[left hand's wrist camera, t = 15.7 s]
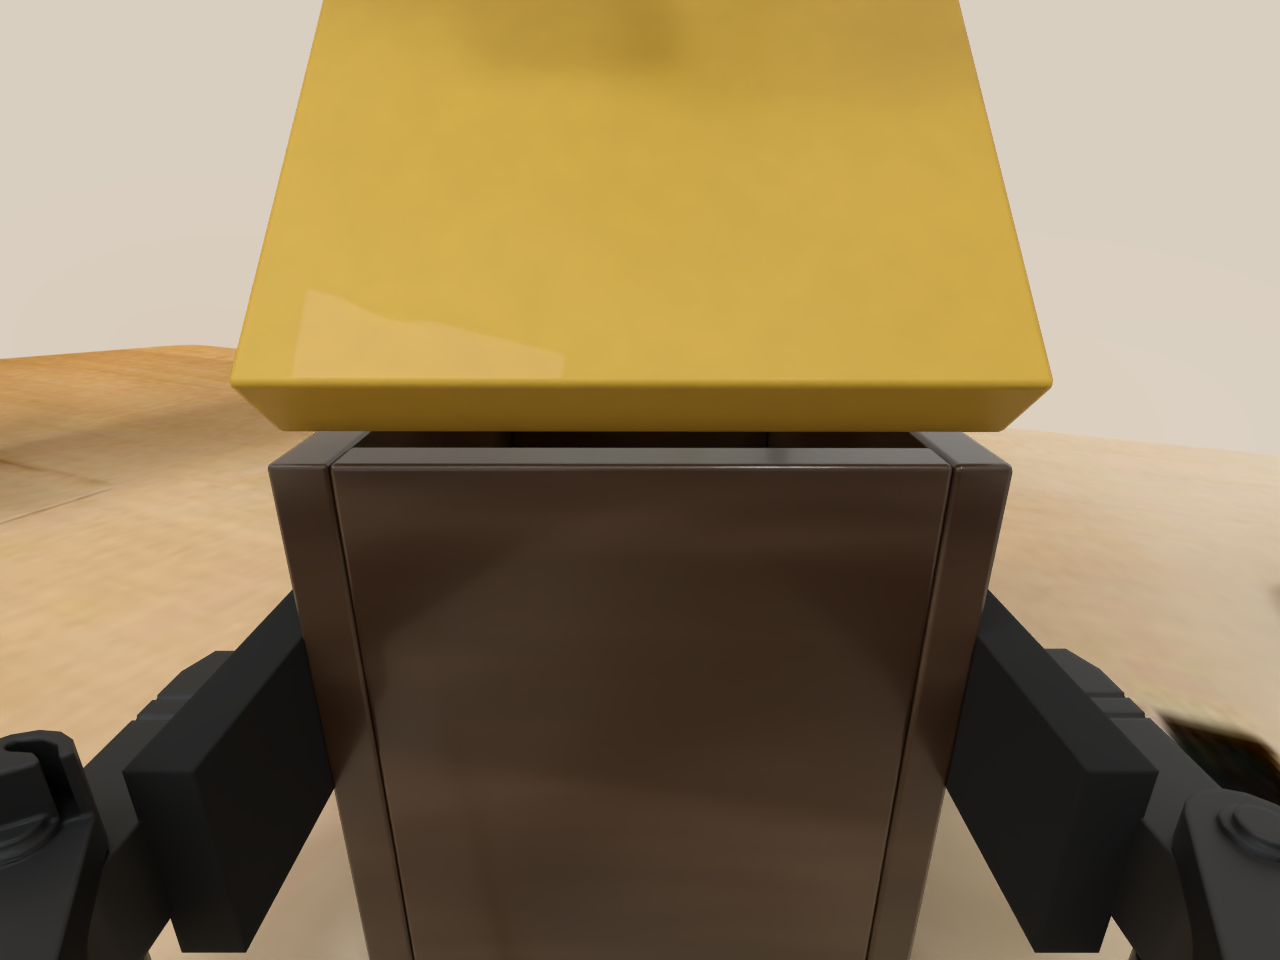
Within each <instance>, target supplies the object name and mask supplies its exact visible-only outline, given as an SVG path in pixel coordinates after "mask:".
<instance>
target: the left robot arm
mask: <svg viewBox="0 0 1280 960" xmlns="http://www.w3.org/2000/svg"><path fill="white" fill-rule="evenodd" d="M946 788H947V790H948V792H949V794H950V796H951V798H952V799H953V801H954V803H955V805H956V807H957V809H958V811H959V812H960V814H961V816H962V818H963V820H964V822H965V824H966V825H967V827H968V829H969V831H970V833H971V835H972V837H973V838H974V840H975V842H976V844H977V846H978V848H979V850H980V851H981V853H982V855H983V857H984V859H985V861H986V863H987V864H988V866H989V868H990V870H991V872H992V874H993V876H994V877H995V879H996V881H997V883H998V885H999V887H1000V889H1001V890H1002V892H1003V894H1004V896H1005V898H1006V900H1007V902H1008V903H1009V905H1010V907H1011V909H1012V911H1013V913H1014V915H1015V916H1016V918H1017V920H1018V922H1019V924H1020V926H1021V928H1022V929H1023V931H1024V933H1025V935H1026V937H1027V939H1028V941H1029V943H1030V944H1031V946H1032V948H1033V950H1034V952H1035V953H1099V951H1100V948H1101V945H1102V942H1103V939H1104V936H1105V933H1106V930H1107V927H1108V924H1109V921H1110V918H1111V916H1112V917H1113V919H1114V920H1115V922H1116V923H1117V925H1118V926H1119V928H1120V929H1121V931H1122V932H1123V934H1124V935H1125V937H1126V938H1127V940H1128V941H1129V943H1130V944H1131V946H1132V947H1133V949H1132V952H1131V954H1130V957H1129V960H1280V806H1278V805H1276V804H1274V803H1271V802H1269V801H1266V800H1263V799H1261V798H1258V797H1255V796H1253V795H1250V794H1247V793H1244V792H1238V791H1233V790H1227V789H1222V788H1221V787H1220V786H1219V785H1218V784H1217V783H1216V782H1215V781H1214V780H1213V779H1212V778H1211V777H1210V776H1209V775H1208V774H1207V773H1205V772H1204V771H1203V770H1202V769H1201V768H1200V767H1199V766H1198V765H1197V764H1196V763H1195V762H1194V761H1193V760H1192V759H1191V758H1190V757H1189V756H1188V755H1187V754H1186V753H1185V752H1184V751H1183V750H1182V749H1181V748H1180V747H1179V746H1178V745H1177V744H1176V743H1175V742H1174V741H1173V740H1172V739H1171V738H1170V737H1169V736H1168V735H1167V734H1166V733H1165V732H1164V731H1163V730H1162V729H1161V728H1159V727H1158V726H1157V725H1156V724H1155V723H1154V722H1153V721H1152V720H1151V719H1150V718H1145V713H1144V712H1143V711H1142V710H1141V709H1140V708H1139V707H1138V706H1137V705H1136V704H1135V703H1134V702H1133V701H1132V700H1131V699H1130V698H1125V696H1124V692H1123V691H1122V690H1121V689H1120V688H1119V687H1118V686H1117V685H1116V684H1115V683H1114V682H1112V681H1111V680H1110V679H1109V678H1108V677H1107V676H1106V675H1105V674H1104V673H1103V672H1102V671H1101V670H1100V669H1099V668H1097V667H1095V666H1094V665H1092V664H1090V663H1089V662H1087V661H1085V660H1084V659H1082V658H1080V657H1079V656H1077V655H1075V654H1074V653H1072V652H1070V651H1069V650H1067V649H1044V648H1043V647H1042V646H1041V645H1040V644H1039V643H1038V642H1037V641H1036V640H1035V639H1034V638H1033V637H1032V636H1031V635H1030V633H1029V632H1028V631H1027V630H1026V629H1025V628H1024V627H1023V626H1022V625H1021V624H1020V623H1019V622H1018V621H1017V620H1016V619H1015V617H1014V616H1013V615H1012V614H1011V613H1010V612H1009V611H1008V610H1007V609H1006V608H1005V607H1004V606H1003V605H1002V604H1001V603H1000V602H999V600H998V599H997V598H996V597H995V596H994V595H993V594H992V593H991V592H990V591H989V590H987V595H986V599H985V604H984V609H983V614H982V618H981V623H980V628H979V633H978V637H977V641H976V646H975V651H974V656H973V661H972V665H971V670H970V675H969V680H968V684H967V689H966V694H965V699H964V704H963V708H962V713H961V718H960V723H959V727H958V732H957V737H956V742H955V746H954V751H953V756H952V760H951V765H950V770H949V775H948V779H947V784H946ZM333 789H334V786H333V781H332V776H331V771H330V767H329V762H328V757H327V752H326V747H325V742H324V738H323V733H322V728H321V723H320V718H319V713H318V709H317V704H316V699H315V694H314V689H313V684H312V680H311V675H310V670H309V665H308V660H307V655H306V651H305V646H304V641H303V636H302V631H301V626H300V622H299V617H298V612H297V607H296V602H295V597H294V593H293V590H292V591H291V592H290V593H289V594H288V595H287V596H286V597H285V598H284V599H283V600H282V601H281V602H280V603H279V604H278V606H277V607H276V608H275V609H274V610H273V611H272V612H271V613H270V614H269V615H268V616H267V617H266V618H265V619H264V620H263V621H262V623H261V624H260V625H259V626H258V627H257V628H256V629H255V630H254V631H253V632H252V633H251V634H250V635H249V636H248V637H247V638H246V640H245V641H244V642H243V643H242V644H241V645H240V646H239V647H238V648H237V649H236V650H235V651H215V652H213V653H212V654H210V655H208V656H207V657H205V658H203V659H201V660H200V661H198V662H196V663H195V664H193V665H191V666H190V667H188V668H186V669H185V670H183V671H182V672H181V673H180V674H178V675H177V676H176V677H175V678H174V679H173V680H172V681H171V682H170V683H169V684H168V685H167V686H166V687H165V688H164V689H163V690H162V691H161V692H160V693H159V694H158V695H157V700H152V701H151V702H150V703H149V704H148V705H147V706H146V707H145V708H144V709H143V710H142V711H141V712H140V713H139V714H138V715H137V719H136V721H131V722H130V723H129V724H128V725H127V726H126V727H125V728H124V729H123V730H122V731H121V732H120V733H119V734H118V735H117V736H116V737H115V738H114V739H113V740H112V741H110V742H109V743H108V744H107V745H106V746H105V747H104V748H103V749H102V750H101V751H100V752H99V753H98V754H97V755H96V756H95V757H94V758H93V759H92V760H91V761H90V762H89V763H88V764H87V765H86V766H85V767H84V768H83V767H82V764H81V761H80V758H79V755H78V753H77V750H76V747H75V744H74V741H73V739H71V738H70V737H68V736H67V735H65V734H63V733H62V732H58V731H45V730H37V731H30V732H24V733H18V734H12V735H9V736H6V737H3V738H0V960H151V957H150V954H149V952H148V951H149V949H150V948H151V946H152V945H153V943H154V942H155V940H156V939H157V937H158V936H159V934H160V933H161V931H162V930H163V928H164V927H165V925H166V924H167V922H168V921H169V919H170V918H171V921H172V924H173V927H174V930H175V933H176V936H177V939H178V942H179V945H180V948H181V951H182V953H246V951H247V949H248V948H249V946H250V944H251V942H252V940H253V938H254V936H255V935H256V933H257V931H258V929H259V927H260V925H261V923H262V922H263V920H264V918H265V916H266V914H267V912H268V910H269V908H270V907H271V905H272V903H273V901H274V899H275V897H276V895H277V894H278V892H279V890H280V888H281V886H282V884H283V882H284V881H285V879H286V877H287V875H288V873H289V871H290V869H291V868H292V866H293V864H294V862H295V860H296V858H297V856H298V855H299V853H300V851H301V849H302V847H303V845H304V843H305V842H306V840H307V838H308V836H309V834H310V832H311V830H312V829H313V827H314V825H315V823H316V821H317V819H318V817H319V816H320V814H321V812H322V810H323V808H324V806H325V804H326V802H327V801H328V799H329V797H330V795H331V793H332V791H333Z"/></svg>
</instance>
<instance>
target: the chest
mask: <svg viewBox="0 0 1280 960" xmlns="http://www.w3.org/2000/svg"><path fill="white" fill-rule="evenodd" d="M268 472H269V477H270V481H271V486H272V491H273V496H274V501H275V506H276V510H277V515H278V520H279V525H280V530H281V535H282V539H283V544H284V549H285V554H286V559H287V564H288V568H289V573H290V578H291V583H292V588H293V593H294V597H295V602H296V607H297V612H298V617H299V622H300V626H301V631H302V636H303V641H304V646H305V651H306V655H307V660H308V665H309V670H310V675H311V680H312V684H313V689H314V694H315V699H316V704H317V709H318V713H319V718H320V723H321V728H322V733H323V738H324V742H325V747H326V752H327V757H328V762H329V767H330V771H331V776H332V781H333V786H334V791H335V796H336V800H337V805H338V810H339V815H340V820H341V824H342V829H343V834H344V839H345V844H346V849H347V853H348V858H349V863H350V868H351V873H352V878H353V882H354V887H355V892H356V897H357V902H358V907H359V911H360V916H361V921H362V926H363V931H364V936H365V940H366V945H367V950H368V955H369V960H909V959H910V955H911V950H912V945H913V940H914V936H915V931H916V926H917V921H918V917H919V912H920V907H921V903H922V898H923V893H924V888H925V884H926V879H927V874H928V869H929V865H930V860H931V855H932V850H933V846H934V841H935V836H936V831H937V827H938V822H939V817H940V813H941V808H942V803H943V798H944V794H945V789H946V784H947V779H948V775H949V770H950V765H951V760H952V756H953V751H954V746H955V742H956V737H957V732H958V727H959V723H960V718H961V713H962V708H963V704H964V699H965V694H966V689H967V684H968V680H969V675H970V670H971V665H972V661H973V656H974V651H975V646H976V641H977V637H978V633H979V628H980V623H981V618H982V614H983V609H984V604H985V599H986V595H987V590H988V585H989V581H990V576H991V571H992V566H993V562H994V557H995V552H996V547H997V543H998V538H999V533H1000V528H1001V524H1002V519H1003V514H1004V510H1005V505H1006V500H1007V495H1008V491H1009V486H1010V481H1011V476H1012V467H1011V465H1009V464H1008V463H1007V462H1005V461H1004V460H1002V459H1001V458H999V457H998V456H996V455H995V454H993V453H992V452H991V451H989V450H988V449H986V448H985V447H983V446H982V445H980V444H979V443H978V442H976V441H975V440H973V439H972V438H970V437H969V436H967V435H966V434H965V433H963V432H637V431H317V432H316V433H314V434H313V435H311V436H310V437H308V438H307V439H306V440H304V441H303V442H301V443H300V444H298V445H297V446H296V447H294V448H293V449H291V450H290V451H288V452H287V453H285V454H284V455H283V456H281V457H280V458H278V459H277V460H275V461H274V462H272V463H271V464H270V465H269V466H268Z"/></svg>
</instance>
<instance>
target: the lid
mask: <svg viewBox="0 0 1280 960" xmlns="http://www.w3.org/2000/svg"><path fill="white" fill-rule="evenodd" d="M1052 382H1053V378H1052V374H1051V370H1050V366H1049V362H1048V358H1047V354H1046V350H1045V346H1044V342H1043V338H1042V334H1041V330H1040V326H1039V322H1038V318H1037V314H1036V310H1035V306H1034V302H1033V298H1032V294H1031V290H1030V286H1029V282H1028V278H1027V274H1026V270H1025V266H1024V262H1023V257H1022V253H1021V249H1020V245H1019V242H1018V237H1017V233H1016V229H1015V225H1014V221H1013V217H1012V213H1011V209H1010V205H1009V201H1008V197H1007V193H1006V189H1005V185H1004V181H1003V177H1002V173H1001V169H1000V165H999V161H998V157H997V153H996V149H995V145H994V141H993V137H992V133H991V129H990V125H989V121H988V117H987V113H986V109H985V105H984V101H983V97H982V93H981V89H980V84H979V80H978V77H977V72H976V68H975V65H974V60H973V57H972V52H971V48H970V44H969V40H968V36H967V32H966V28H965V24H964V20H963V16H962V12H961V8H960V4H959V0H323V4H322V8H321V12H320V16H319V20H318V24H317V28H316V32H315V36H314V40H313V44H312V48H311V52H310V56H309V60H308V64H307V69H306V73H305V76H304V81H303V85H302V89H301V93H300V97H299V101H298V105H297V109H296V113H295V117H294V121H293V125H292V129H291V133H290V137H289V141H288V145H287V149H286V153H285V157H284V161H283V165H282V169H281V174H280V178H279V182H278V186H277V190H276V194H275V198H274V202H273V206H272V210H271V214H270V218H269V222H268V226H267V230H266V234H265V238H264V242H263V246H262V250H261V254H260V259H259V263H258V267H257V271H256V275H255V279H254V283H253V287H252V291H251V295H250V299H249V303H248V307H247V311H246V315H245V319H244V323H243V327H242V331H241V335H240V339H239V343H238V347H237V352H236V356H235V360H234V364H233V368H232V372H231V376H230V384H231V386H232V388H234V389H235V390H236V391H237V392H238V393H239V394H240V395H241V396H242V397H244V398H245V399H246V400H247V401H248V402H249V403H250V404H251V405H252V406H254V407H255V408H256V409H257V410H258V411H259V412H260V413H261V414H262V415H264V416H265V417H266V418H267V419H268V420H269V421H270V422H271V423H272V424H274V425H275V426H276V427H277V428H278V429H280V430H282V431H637V432H999V431H1002V430H1004V429H1005V428H1006V427H1007V426H1008V425H1010V424H1011V423H1012V422H1013V421H1014V420H1015V419H1016V418H1017V417H1019V416H1020V415H1021V414H1022V413H1023V412H1024V411H1025V410H1026V409H1028V408H1029V407H1030V406H1031V405H1032V404H1033V403H1034V402H1035V401H1037V400H1038V399H1039V398H1040V397H1041V396H1042V395H1043V394H1045V393H1046V392H1047V391H1048V390H1049V389H1050V388H1051V386H1052Z"/></svg>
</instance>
